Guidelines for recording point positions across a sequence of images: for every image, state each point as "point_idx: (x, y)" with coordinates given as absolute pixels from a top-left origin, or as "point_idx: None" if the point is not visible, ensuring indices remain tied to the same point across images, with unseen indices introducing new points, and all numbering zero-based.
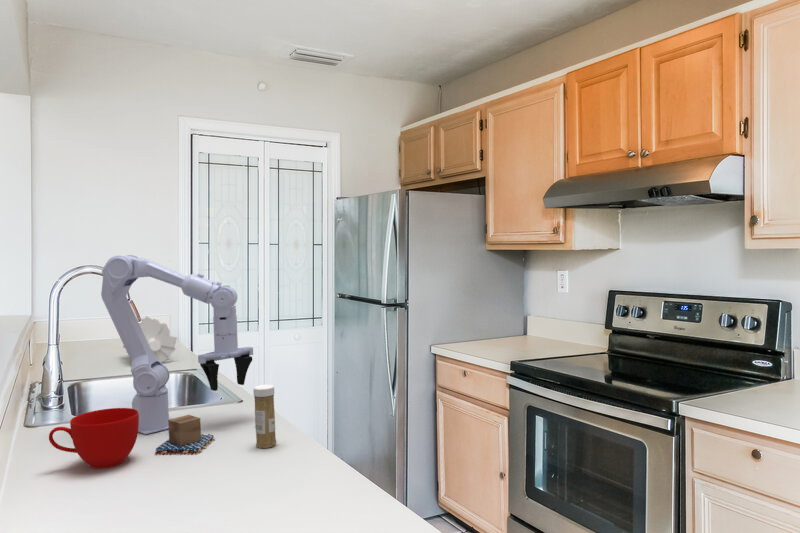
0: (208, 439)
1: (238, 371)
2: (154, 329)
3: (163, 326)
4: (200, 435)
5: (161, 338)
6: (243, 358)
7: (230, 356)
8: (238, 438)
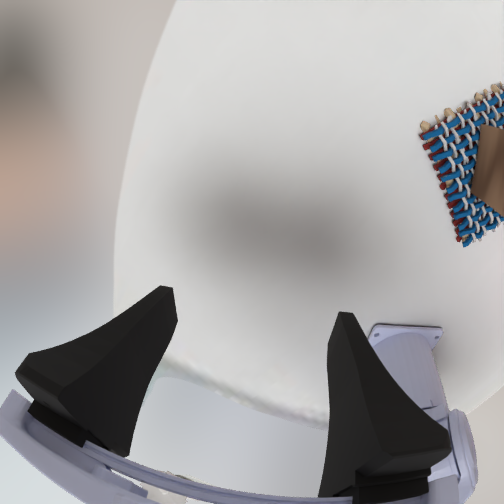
0: (459, 114)
1: (144, 369)
2: (157, 500)
3: (147, 498)
4: (490, 126)
5: (155, 491)
6: (74, 411)
7: (172, 489)
8: (367, 60)
